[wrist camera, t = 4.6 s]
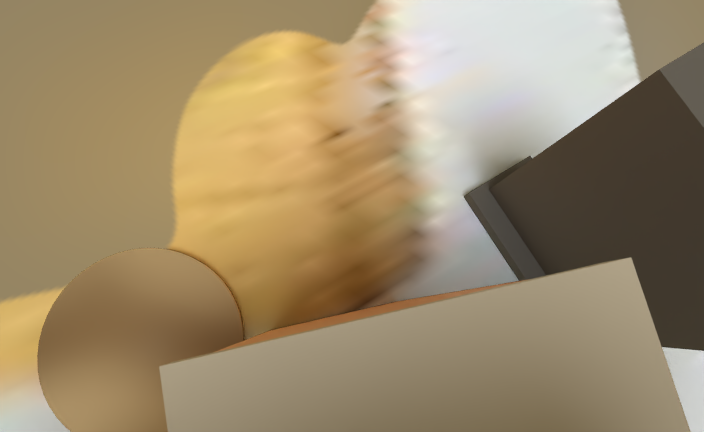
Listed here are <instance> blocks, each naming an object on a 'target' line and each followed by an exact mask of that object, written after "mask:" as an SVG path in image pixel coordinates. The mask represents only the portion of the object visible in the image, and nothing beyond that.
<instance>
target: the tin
mask: <svg viewBox="0 0 704 432" xmlns="http://www.w3.org/2000/svg"><path fill="white" fill-rule="evenodd" d="M159 369H160V377H161V384H162V392H163V399H164V406H165V414H166V421H167V428H168V432H690V429H689V426H688V423H687V420H686V417H685V414H684V411H683V408H682V405H681V402H680V400H679V397H678V394H677V391H676V388H675V385H674V382H673V379H672V376H671V373H670V370H669V367H668V364H667V361H666V358H665V355H664V352H663V349H662V347H661V344H660V341H659V338H658V335H657V332H656V329H655V326H654V323H653V320H652V317H651V314H650V311H649V308H648V305H647V302H646V299H645V296H644V293H643V291H642V288H641V285H640V282H639V279H638V276H637V273H636V270H635V267H634V264H633V261H632V258H631V257H630V258H625V259H619V260H614V261H608V262H603V263H599V264H594V265H590V266H586V267H581V268H577V269H573V270H568V271H564V272H560V273H555V274H551V275H547V276H542V277H538V278H534V279H528V280H522V281H516V282H510V283H504V284H498V285H492V286H486V287H480V288H474V289H468V290H462V291H456V292H451V293H445V294H439V295H433V296H427V297H421V298H415V299H409V300H403V301H397V302H393V303H388V304H384V305H380V306H375V307H371V308H366V309H362V310H358V311H353V312H349V313H344V314H340V315H336V316H331V317H327V318H323V319H318V320H314V321H309V322H305V323H301V324H296V325H292V326H288V327H283V328H279V329H274V330H270V331H268V332H265V333H263V334H260V335H257V336H255V337H252V338H249V339H247V340H244V341H242V342H239V343H236V344H234V345H231V346H228V347H226V348H223V349H221V350H218V351H215V352H213V353H209V354H204V355H200V356H196V357H191V358H187V359H183V360H178V361H174V362H171V363H168V364H165V365H162V366H159Z"/></svg>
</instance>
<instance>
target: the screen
mask: <svg viewBox="0 0 704 432" xmlns="http://www.w3.org/2000/svg"><path fill="white" fill-rule="evenodd" d="M464 197H465V199H466V201H467V202H468V204H469V205H470V207H471V208H472V210H473V211H474V213H475V214H476V216H477V217H478V219H479V220H480V222H481V223H482V225H483V226H484V228H485V229H486V231H487V232H488V234H489V235H490V237H491V238H492V240H493V241H494V243H495V244H496V246H497V247H498V249H499V250H500V252H501V253H502V255H503V256H504V258H505V259H506V261H507V262H508V264H509V265H510V267H511V268H512V270H513V271H514V273H515V274H516V276H517V277H518V279H519V281H522V280H528V279H534V278H538V277H542V276H547V275H551V274H555V273H560V272H564V271H568V270H573V269H577V268H581V267H586V266H590V265H594V264H599V263H603V262H608V261H614V260H619V259H625V258H630V257H631V258H632V261H633V264H634V267H635V270H636V273H637V276H638V279H639V282H640V285H641V288H642V291H643V293H644V296H645V299H646V302H647V305H648V308H649V311H650V314H651V317H652V320H653V323H654V326H655V329H656V332H657V335H658V338H659V341H660V344H661V347H668V348H680V349H691V350H702V351H704V43H702V44H701V45H699V46H698V47H696V48H694V49H693V50H691V51H689V52H687V53H686V54H684V55H683V56H681V57H679V58H677V59H676V60H674V61H672V62H671V63H669V64H668V65H666V66H664V67H663V68H661V69H659V70H658V71H656V72H655V73H654V74H652V75H651V76H649V77H648V78H646V79H645V80H644V81H642V82H641V83H639V84H638V85H636V86H635V87H634V88H632V89H631V90H629V91H628V92H627V93H625V94H624V95H622V96H621V97H619V98H618V99H617V100H615V101H614V102H612V103H611V104H610V105H608V106H607V107H605V108H604V109H602V110H601V111H600V112H598V113H597V114H595V115H594V116H592V117H591V118H590V119H588V120H587V121H585V122H584V123H583V124H581V125H580V126H578V127H577V128H575V129H574V130H573V131H571V132H570V133H568V134H567V135H566V136H564V137H563V138H561V139H560V140H558V141H557V142H556V143H554V144H553V145H551V146H550V147H548V148H547V149H546V150H544V151H543V152H541V153H540V154H539V155H537V156H536V157H534V158H533V159H532V158H531V156H529V157H527V158H526V159H524V160H522V161H521V162H519V163H518V164H516V165H514V166H513V167H511V168H509V169H508V170H506V171H504V172H503V173H501V174H499V175H498V176H496V177H494V178H493V179H491V180H490V181H488V182H486V183H485V184H483V185H481V186H480V187H478V188H476V189H475V190H473V191H471V192H470V193H468V194H467V195H466V196H464Z"/></svg>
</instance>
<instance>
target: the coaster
mask: <svg viewBox="0 0 704 432" xmlns="http://www.w3.org/2000/svg"><path fill="white" fill-rule="evenodd" d="M242 341H244V333H243V323H242V319H241V315H240V311H239V308H238V306H237V303H236V301H235V299H234V297H233V295H232V293H231V291H230V290H229V288H228V287H227V285H226V284H225V283H224V282H223V280H222V279H221V278H220V277H219V276H218V275H217V274H216V273H215V272H214V271H213V270H211V269H210V268H209V267H207V266H206V265H205V264H203V263H201V262H199V261H198V260H196V259H194V258H192V257H190V256H187V255H185V254H182V253H180V252H176V251H172V250H168V249H159V248H140V249H133V250H127V251H123V252H120V253H116V254H113V255H111V256H108V257H106V258H104V259H102V260H100V261H98V262H96V263H94V264H93V265H91V266H90V267H88V268H87V269H85V270H84V271H82V272H81V273H80V274H79V275H78V276H77V277H75V278H74V279H73V280H72V281H71V282H70V283H69V284H68V285H67V286H66V288H65V289H64V290H63V291H62V292H61V294H60V295H59V296H58V298H57V299H56V301H55V302H54V304H53V306H52V308H51V309H50V311H49V313H48V315H47V317H46V320H45V323H44V325H43V328H42V332H41V336H40V340H39V346H38V373H39V380H40V384H41V387H42V391H43V394H44V396H45V398H46V400H47V402H48V405H49V407H50V408H51V410H52V411H53V413H54V414H55V416H56V417H57V418H58V419H59V420H60V422H61V423H62V424H63V425H64V426H65V427H66V428H67V429H68V430H70V431H71V432H168V428H167V421H166V414H165V406H164V399H163V392H162V384H161V377H160V369H159V366H162V365H165V364H168V363H171V362H174V361H178V360H183V359H187V358H191V357H196V356H200V355H204V354H209V353H213V352H215V351H218V350H221V349H223V348H226V347H228V346H231V345H234V344H236V343H239V342H242Z"/></svg>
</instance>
